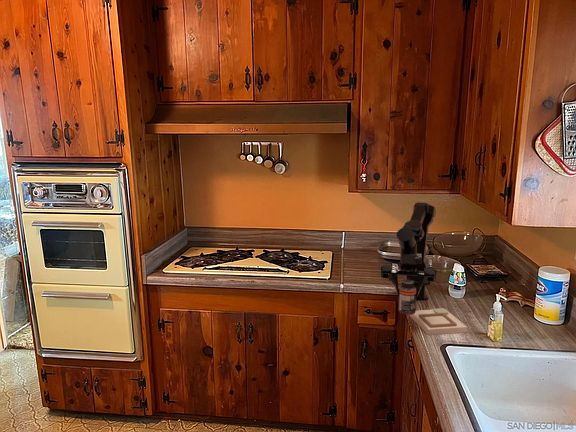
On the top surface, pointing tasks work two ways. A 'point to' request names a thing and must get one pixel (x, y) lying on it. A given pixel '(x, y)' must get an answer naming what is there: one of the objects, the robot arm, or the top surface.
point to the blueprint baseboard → (438, 322)
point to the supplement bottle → (407, 298)
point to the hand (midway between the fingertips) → (407, 295)
